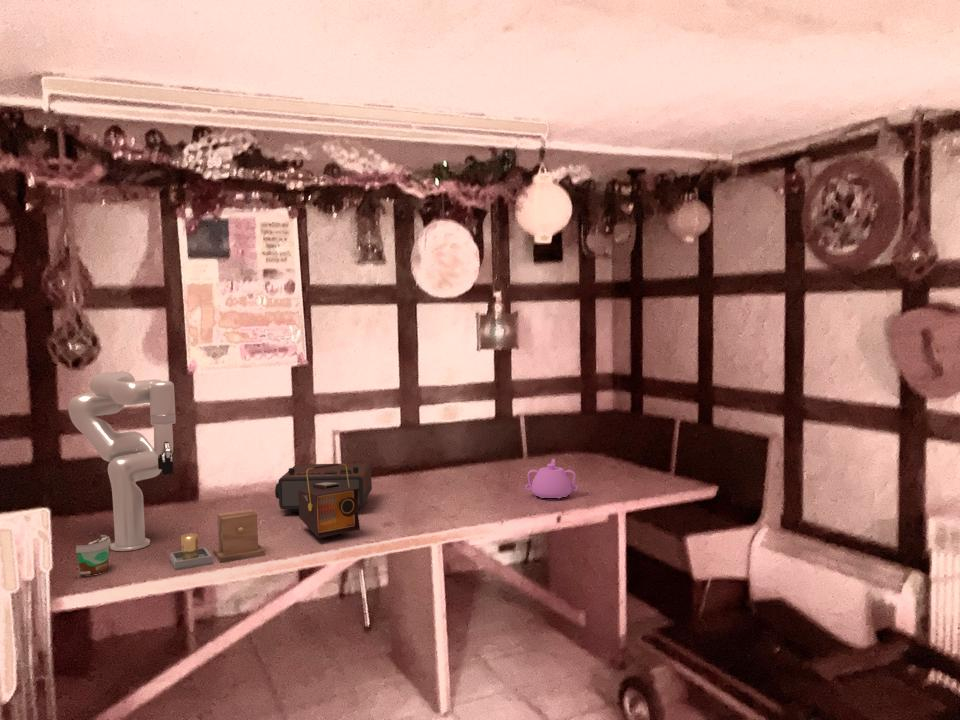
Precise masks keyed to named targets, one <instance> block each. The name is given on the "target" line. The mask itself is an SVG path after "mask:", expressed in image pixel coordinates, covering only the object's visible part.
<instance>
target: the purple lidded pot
mask: <svg viewBox="0 0 960 720" xmlns="http://www.w3.org/2000/svg"><path fill="white" fill-rule="evenodd" d="M546 465H547V466H545V467H541V468H539V469H531V470H529V471H528V473H527V481H528V483H527V484H526V485H525V490H526V491H528V492H531V493H532V494H533V495H534V496H535V495H536V496H539V497H544V498H558V497H564V496H568V495H569V494H570V495H571V494H572V492H577V491H579V487H578V485H577V484H575V483H576V479H577V474H576V472H574V471H573V470H571V469H567V470H565V469H564V467H563V468H562V467H560V466H556V459H555V458H552V459H551V462H550V463H547V464H546ZM532 473H535V475H534V477H533V479H532V480H531V474H532ZM567 473H569V474H572V476H573V477H572V481H571V479H570V477H569V475H568V474H567ZM570 495H569V496H570ZM536 496H535V497H536ZM569 496H568V497H569Z"/></svg>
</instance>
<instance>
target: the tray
mask: <svg viewBox="0 0 960 720" xmlns="http://www.w3.org/2000/svg"><path fill="white" fill-rule="evenodd" d="M198 551H199V558H193V559H187V560H182V550H180V551H173V552H170V553H169V561H170V563H171V565H172V566H173V569H174V571H179V570H184V569H190V568H195V567H201V566H207V564H208V565H212V564H213V555H212V554H211V553H210V552H209V550H208V549H207V547H198Z"/></svg>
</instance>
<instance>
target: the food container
mask: <svg viewBox="0 0 960 720" xmlns="http://www.w3.org/2000/svg"><path fill="white" fill-rule="evenodd" d="M111 544H112V541H111V538H110V537H109V536H108V535H106V534H101V535H100V537H99V538H97V539H94V540H91V541H88V542H87V543H85V544H83V545H80V544H79V545H77V544H76V548H75V553H76V554H77V560H78V567H79V575H80V577H81V576H86V575H94V574H99V573H102V574H104V573H106V572H108V571H109V555H110V545H111ZM107 570H108V571H107ZM105 571H106V572H105ZM103 572H104V573H103ZM99 575H100V574H99Z"/></svg>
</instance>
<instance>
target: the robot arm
mask: <svg viewBox="0 0 960 720" xmlns="http://www.w3.org/2000/svg"><path fill="white" fill-rule="evenodd" d="M89 390H90V391H91V392H85V393H82V394H79V395H76V396H74V397H72V398H71V399H70V401H69V403H68V405H67V406H68V407H67V409H68V415H69V418H70V420H71V422H72V424H73V426H75V428H76V429H77V430H78V431H79V432H80V433H81V435H84V437H86V439H87V440H88V441H89V443H90V444H91V446H92V447H93V448H94V450H95V451H96V453H97V454H98V455H99V457H100V458H101V459H103V460H104V461H105V462H109V463H108V465H107V473H108V478H109V482H110V487H111V494H112V508H113V509H112V510H113V529H114V541H113V542H111V545H110V546H109V550H111V551H114V552H128V551H129V552H130V551H135V550H139V549H140V550H141V549H143V548H146V547H148V546H149V545H151V539H149V538H147V537H146V532H145V531H146V529H145V510H144V508H145V507H144V495H143V492H142V489H141V488H140V487H139V486H138V484H137V483H136V482H140V481H143V480H148V479H153V478H155V477H157V476H159V475H160V474H161V473H162V475H172V474H174V463H173V456H172V455H173V453H174V432H173V430H174V429H173V424H174V425H175V424H176V423H177V421H176V400H175V398H176V397H175V385H174V382H173V381H168V380H160V379H146V380H136V379H135V377H134V376H133V374H131V373H130V372H128V371H123V370H121V371H109V372H108V371H107V372H101V373H98V374H96V375H94V376H93V377H92V378H91V379H90V381H89ZM141 404H149V410H150V411H149V413H150V415H149V416H150V425H151V426H153V446H152V445H151V443H150V442H149V441H148V439H147V438H146V437H145V435H143V434H142V433H141V432H139V431H126V432H117V431H116V430H115V429H114V428H113V426H112V425H111V424H109V423H108V421H105V420H104V419H102V418H99V416H107V415H114V414H117V413H119V412H120V411H122V409H123V408H124V407H125V406H135V405H141Z"/></svg>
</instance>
